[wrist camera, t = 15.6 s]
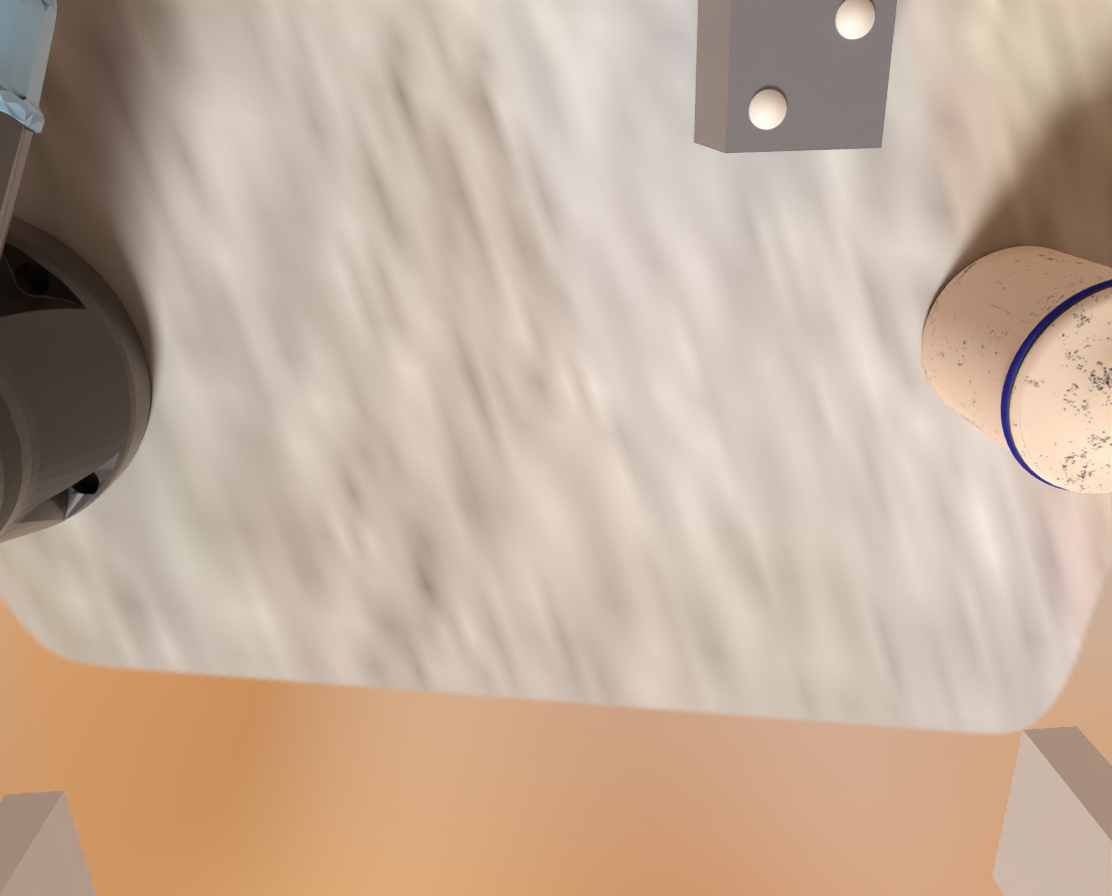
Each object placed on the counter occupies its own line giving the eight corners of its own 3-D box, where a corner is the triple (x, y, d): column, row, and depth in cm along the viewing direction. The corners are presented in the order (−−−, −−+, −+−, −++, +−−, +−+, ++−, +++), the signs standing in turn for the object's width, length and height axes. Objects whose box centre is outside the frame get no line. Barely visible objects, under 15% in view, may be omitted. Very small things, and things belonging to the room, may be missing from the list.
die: (694, 142, 39) (726, 153, 34) (698, -11, 37) (734, -26, 31) (828, 138, 40) (882, 147, 34) (841, -14, 37) (901, -31, 32)
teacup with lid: (922, 440, 46) (1051, 551, 35) (903, 267, 42) (1040, 332, 31) (1157, 379, 45) (1362, 474, 34) (1158, 200, 42) (1387, 242, 31)
